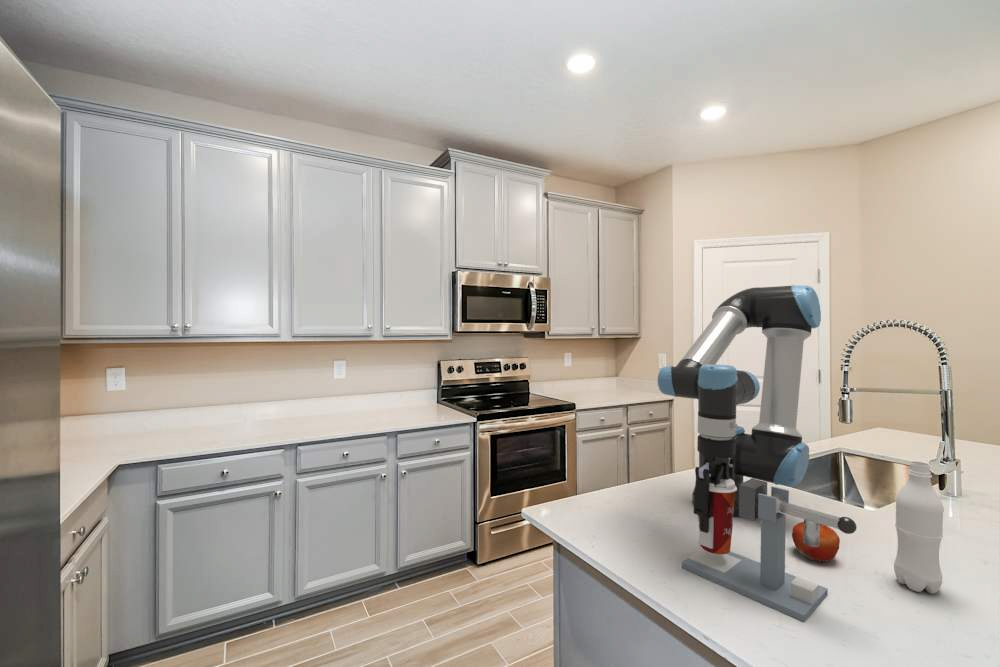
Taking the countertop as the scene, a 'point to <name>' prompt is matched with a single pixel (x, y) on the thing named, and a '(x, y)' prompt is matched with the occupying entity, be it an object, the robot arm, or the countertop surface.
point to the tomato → (826, 543)
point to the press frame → (762, 567)
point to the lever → (790, 512)
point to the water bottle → (919, 531)
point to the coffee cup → (722, 515)
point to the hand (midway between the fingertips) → (714, 540)
